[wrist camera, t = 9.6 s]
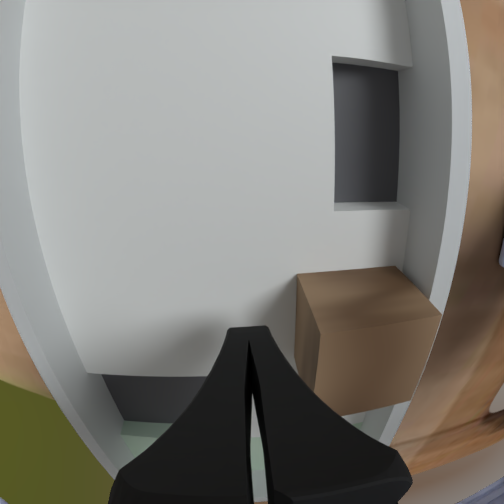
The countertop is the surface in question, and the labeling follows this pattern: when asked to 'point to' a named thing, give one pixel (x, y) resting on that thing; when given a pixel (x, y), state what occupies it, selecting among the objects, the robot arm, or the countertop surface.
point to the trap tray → (215, 185)
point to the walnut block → (362, 337)
